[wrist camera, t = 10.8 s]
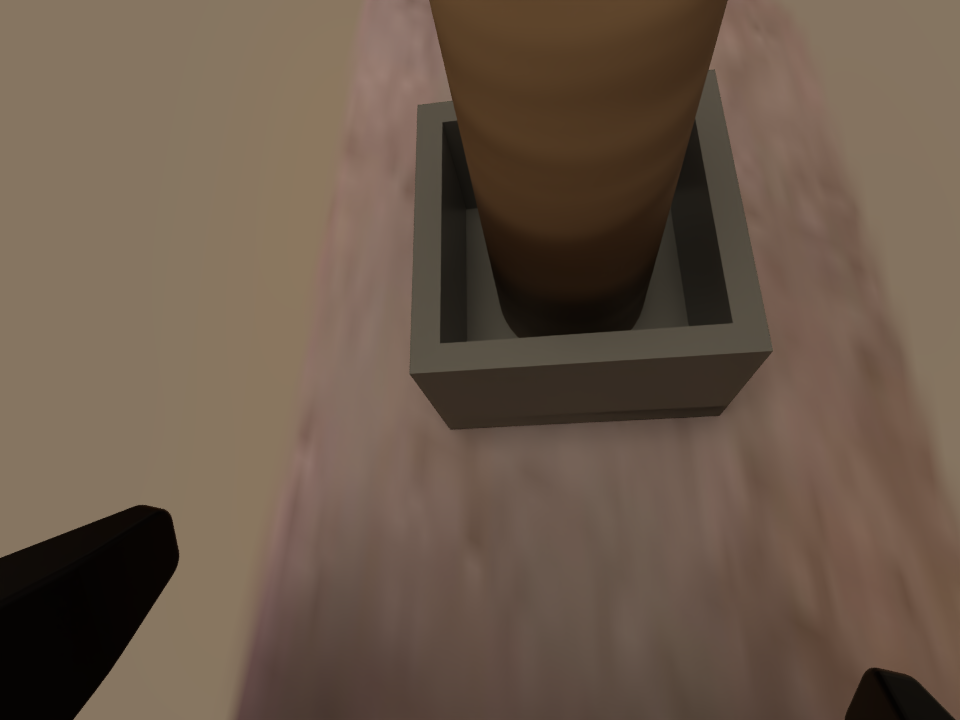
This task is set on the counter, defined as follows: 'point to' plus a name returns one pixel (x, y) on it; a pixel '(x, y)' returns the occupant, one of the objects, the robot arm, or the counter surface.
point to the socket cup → (591, 356)
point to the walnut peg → (575, 144)
